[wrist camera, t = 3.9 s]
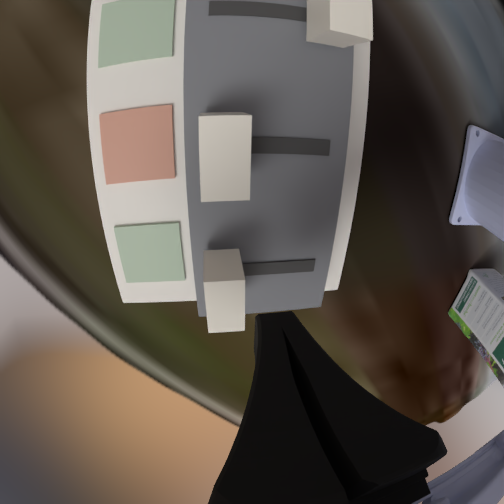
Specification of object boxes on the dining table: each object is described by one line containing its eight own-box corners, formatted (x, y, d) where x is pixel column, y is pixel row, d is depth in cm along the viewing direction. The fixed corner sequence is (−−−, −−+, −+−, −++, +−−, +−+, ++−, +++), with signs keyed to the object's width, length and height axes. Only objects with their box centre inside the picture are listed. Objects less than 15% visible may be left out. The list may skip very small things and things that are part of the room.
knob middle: (243, 112, 10) (252, 115, 8) (242, 180, 11) (249, 200, 9) (201, 112, 10) (198, 116, 8) (202, 181, 11) (200, 201, 9)
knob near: (342, -6, 7) (370, -22, 5) (343, 48, 9) (373, 40, 7) (306, -14, 7) (328, -35, 5) (306, 41, 9) (329, 29, 7)
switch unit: (360, -7, 10) (389, -21, 7) (332, 280, 19) (349, 310, 17) (100, -11, 8) (79, -30, 5) (126, 293, 17) (116, 325, 15)
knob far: (239, 248, 13) (245, 280, 11) (238, 296, 14) (244, 330, 12) (203, 250, 13) (203, 282, 11) (207, 298, 14) (208, 332, 12)
